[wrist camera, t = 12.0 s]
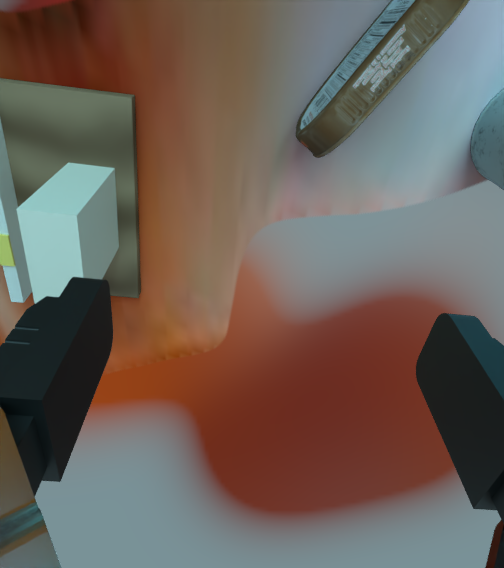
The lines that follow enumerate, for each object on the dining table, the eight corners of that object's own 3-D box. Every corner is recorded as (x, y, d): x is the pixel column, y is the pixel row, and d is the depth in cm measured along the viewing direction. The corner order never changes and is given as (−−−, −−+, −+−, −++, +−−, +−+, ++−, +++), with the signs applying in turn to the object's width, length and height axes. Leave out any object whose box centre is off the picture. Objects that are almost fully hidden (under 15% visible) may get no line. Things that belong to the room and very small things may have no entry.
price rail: (-24, 78, 33) (-44, 84, 31) (-7, 80, 33) (-26, 86, 31) (22, 287, 44) (10, 302, 42) (34, 288, 44) (22, 304, 42)
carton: (114, 168, 37) (76, 215, 29) (118, 247, 42) (86, 308, 33) (64, 162, 37) (11, 208, 29) (74, 242, 41) (30, 303, 33)
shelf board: (-16, 76, 34) (-24, 78, 33) (134, 95, 35) (131, 97, 34) (27, 281, 45) (22, 287, 44) (140, 291, 46) (138, 298, 45)
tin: (310, 143, 38) (325, 176, 31) (284, 120, 37) (292, 148, 29) (450, -19, 31) (509, -25, 24) (423, -53, 30) (477, -70, 23)
